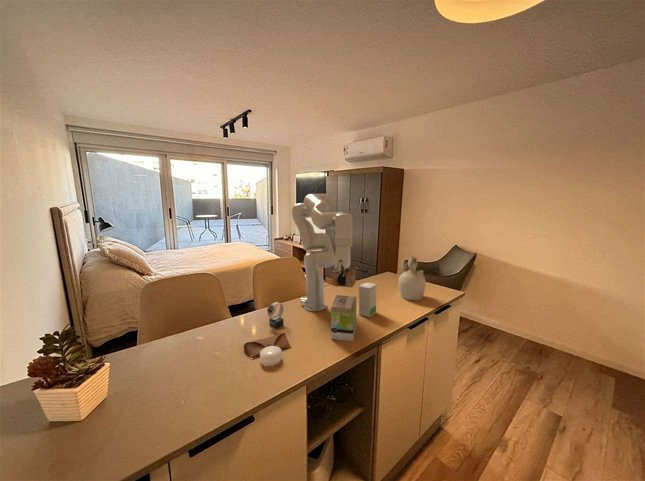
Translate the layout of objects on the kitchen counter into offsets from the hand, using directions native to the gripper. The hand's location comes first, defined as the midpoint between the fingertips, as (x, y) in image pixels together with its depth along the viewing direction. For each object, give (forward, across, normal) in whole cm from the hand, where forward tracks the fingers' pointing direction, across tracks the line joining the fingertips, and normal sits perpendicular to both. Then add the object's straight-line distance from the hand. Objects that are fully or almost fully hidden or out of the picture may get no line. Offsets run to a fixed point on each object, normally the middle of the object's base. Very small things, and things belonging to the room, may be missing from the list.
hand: (343, 282), depth 115 cm
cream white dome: (+24, +29, -21) cm, 43 cm away
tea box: (+24, 0, 0) cm, 24 cm away
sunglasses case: (+24, +22, -26) cm, 42 cm away
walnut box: (+1, 0, 0) cm, 1 cm away
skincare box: (+24, -22, +7) cm, 33 cm away
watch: (+24, +3, -33) cm, 41 cm away
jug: (+24, -52, +29) cm, 64 cm away
